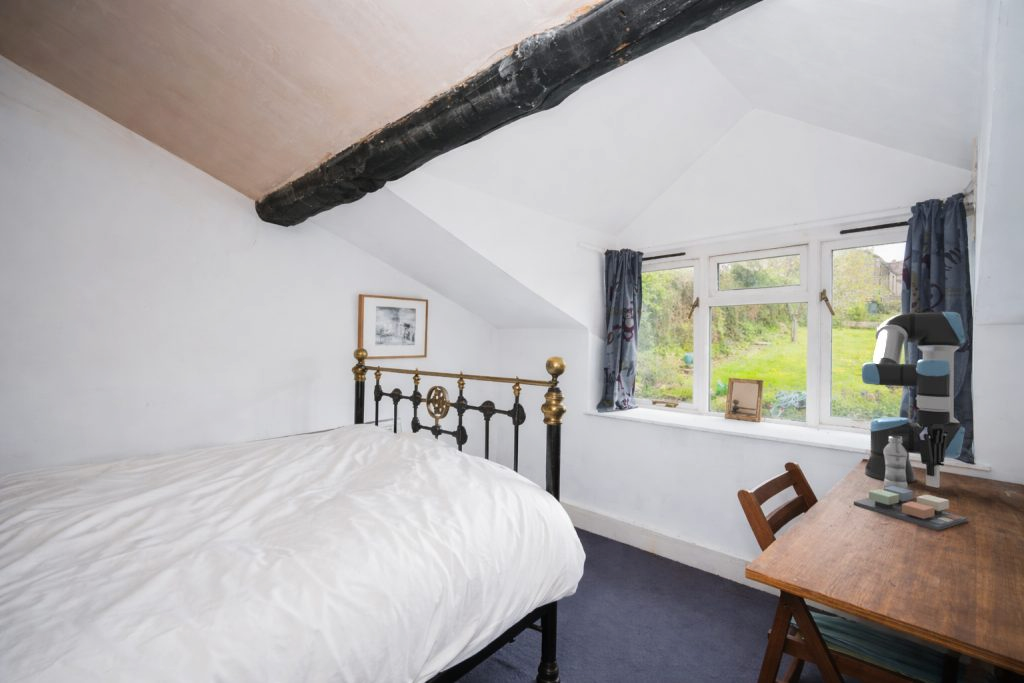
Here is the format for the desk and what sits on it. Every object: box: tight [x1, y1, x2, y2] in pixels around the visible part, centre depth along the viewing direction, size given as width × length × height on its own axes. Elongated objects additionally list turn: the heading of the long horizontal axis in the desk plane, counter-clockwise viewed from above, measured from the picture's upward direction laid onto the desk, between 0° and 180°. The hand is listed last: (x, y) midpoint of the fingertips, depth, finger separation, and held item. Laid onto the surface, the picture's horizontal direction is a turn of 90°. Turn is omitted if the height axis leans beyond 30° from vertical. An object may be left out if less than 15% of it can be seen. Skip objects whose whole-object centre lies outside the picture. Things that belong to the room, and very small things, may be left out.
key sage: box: [868, 488, 899, 505], centre depth 145 cm, size 6×6×2 cm
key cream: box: [916, 494, 950, 511], centre depth 139 cm, size 6×6×2 cm
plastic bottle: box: [882, 436, 909, 490], centre depth 159 cm, size 6×7×20 cm
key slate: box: [883, 486, 914, 501], centre depth 148 cm, size 6×6×2 cm
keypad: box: [853, 497, 968, 531], centre depth 142 cm, size 16×22×3 cm
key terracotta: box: [902, 501, 934, 519], centre depth 136 cm, size 6×6×2 cm
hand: (932, 485), depth 139 cm, fingers closed
